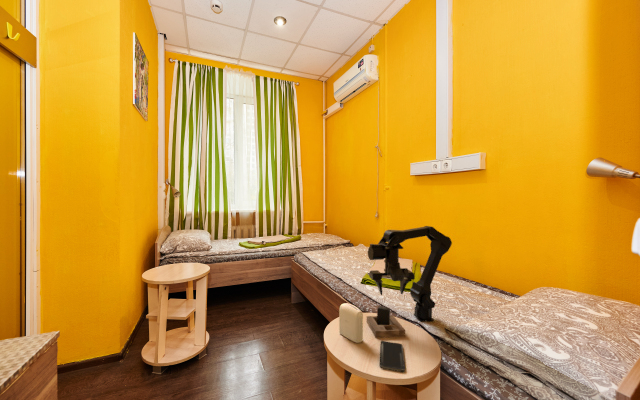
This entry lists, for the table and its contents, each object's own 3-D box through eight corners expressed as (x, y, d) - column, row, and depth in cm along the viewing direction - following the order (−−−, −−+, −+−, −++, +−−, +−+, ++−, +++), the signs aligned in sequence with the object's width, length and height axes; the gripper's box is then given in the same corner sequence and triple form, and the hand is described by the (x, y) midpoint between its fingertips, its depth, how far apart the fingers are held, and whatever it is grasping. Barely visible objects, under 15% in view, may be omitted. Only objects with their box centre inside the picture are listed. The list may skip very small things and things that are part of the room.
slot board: (393, 321, 111) (393, 315, 111) (405, 336, 99) (405, 330, 99) (366, 321, 110) (366, 316, 110) (375, 337, 98) (375, 331, 98)
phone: (379, 366, 80) (380, 340, 94) (379, 369, 80) (380, 343, 94) (405, 370, 78) (402, 343, 92) (405, 374, 78) (402, 346, 92)
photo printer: (337, 333, 101) (337, 302, 101) (345, 329, 103) (345, 299, 103) (356, 344, 93) (357, 311, 93) (364, 340, 95) (364, 308, 95)
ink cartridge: (389, 326, 106) (390, 308, 106) (388, 329, 104) (389, 310, 104) (377, 324, 108) (378, 305, 108) (376, 326, 106) (377, 307, 106)
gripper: (377, 264, 102) (376, 302, 102) (421, 263, 104) (420, 301, 104) (369, 257, 113) (368, 292, 113) (409, 257, 115) (408, 291, 115)
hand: (391, 294), depth 111 cm, fingers open, 9 cm apart
